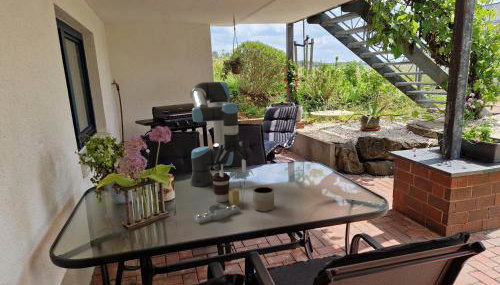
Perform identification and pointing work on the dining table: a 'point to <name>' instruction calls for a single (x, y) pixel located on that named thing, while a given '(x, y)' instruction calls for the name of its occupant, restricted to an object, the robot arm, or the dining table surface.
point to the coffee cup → (221, 187)
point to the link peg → (234, 197)
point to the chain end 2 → (227, 210)
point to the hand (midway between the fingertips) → (233, 174)
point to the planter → (263, 198)
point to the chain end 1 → (208, 215)
